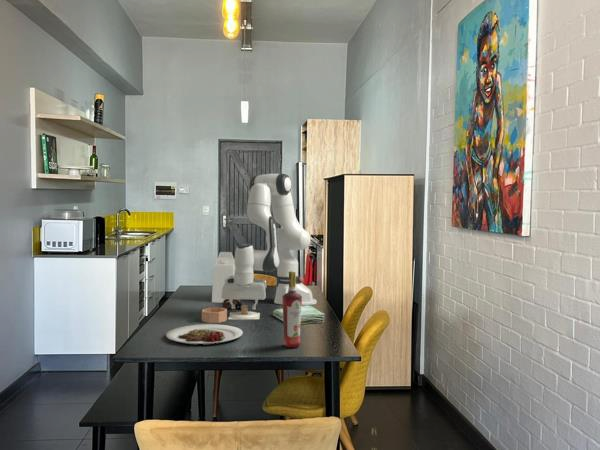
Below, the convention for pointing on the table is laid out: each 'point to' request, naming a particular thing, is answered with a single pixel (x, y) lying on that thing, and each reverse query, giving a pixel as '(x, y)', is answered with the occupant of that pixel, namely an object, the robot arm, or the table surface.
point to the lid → (244, 313)
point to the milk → (222, 274)
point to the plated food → (204, 334)
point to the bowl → (214, 315)
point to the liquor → (292, 314)
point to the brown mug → (235, 302)
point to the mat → (251, 318)
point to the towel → (304, 315)
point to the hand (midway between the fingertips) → (243, 308)
